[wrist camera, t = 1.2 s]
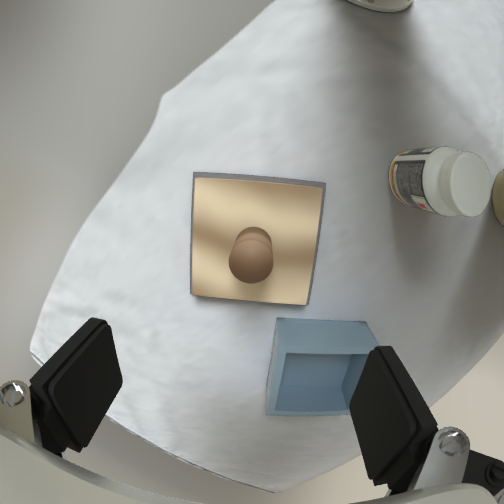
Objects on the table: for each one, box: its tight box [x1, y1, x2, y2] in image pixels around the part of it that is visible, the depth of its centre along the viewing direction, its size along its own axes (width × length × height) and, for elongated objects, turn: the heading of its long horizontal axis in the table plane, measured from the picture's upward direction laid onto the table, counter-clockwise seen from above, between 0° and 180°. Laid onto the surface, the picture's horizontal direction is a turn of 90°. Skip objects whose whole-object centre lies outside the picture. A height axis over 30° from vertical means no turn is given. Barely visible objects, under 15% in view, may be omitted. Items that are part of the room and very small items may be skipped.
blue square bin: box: [266, 318, 380, 416], centre depth 27 cm, size 10×10×5 cm
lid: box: [192, 178, 323, 305], centre depth 23 cm, size 11×11×6 cm
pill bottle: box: [389, 146, 491, 217], centre depth 19 cm, size 6×6×10 cm
